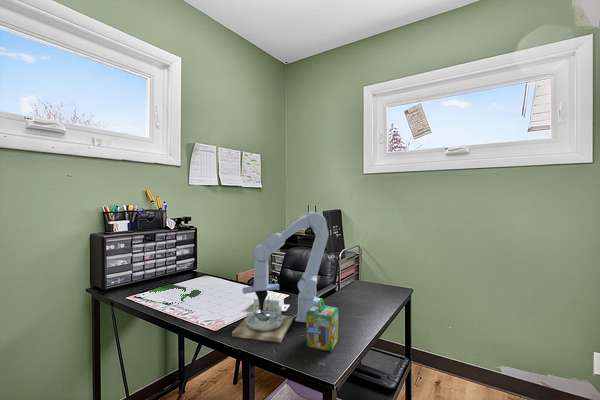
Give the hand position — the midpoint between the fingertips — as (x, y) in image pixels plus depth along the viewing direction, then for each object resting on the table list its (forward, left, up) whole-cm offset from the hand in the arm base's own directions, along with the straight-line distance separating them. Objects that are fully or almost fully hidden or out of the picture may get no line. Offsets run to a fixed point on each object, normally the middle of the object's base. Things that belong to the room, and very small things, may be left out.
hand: (261, 309), depth 113 cm
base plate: (-3, +5, -5) cm, 8 cm away
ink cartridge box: (+8, -15, -2) cm, 17 cm away
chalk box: (-26, +11, -5) cm, 29 cm away
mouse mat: (+55, -19, -6) cm, 58 cm away
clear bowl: (-3, +5, -3) cm, 7 cm away
